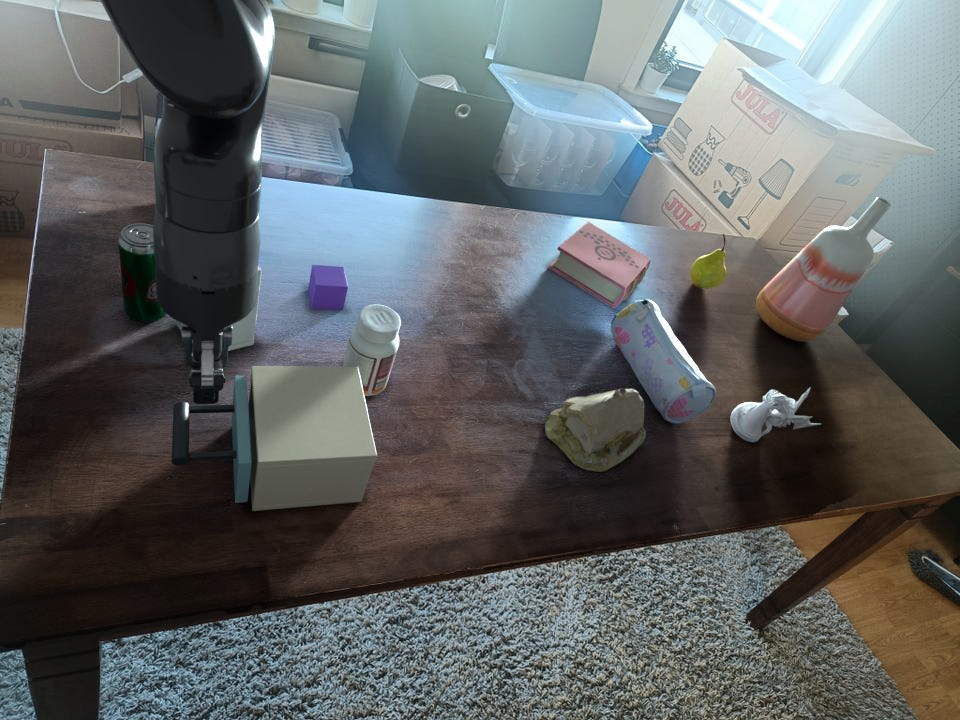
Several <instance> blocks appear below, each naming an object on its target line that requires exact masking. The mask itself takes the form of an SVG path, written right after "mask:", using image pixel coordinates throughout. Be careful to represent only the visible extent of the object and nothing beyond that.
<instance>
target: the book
mask: <svg viewBox="0 0 960 720" xmlns="http://www.w3.org/2000/svg"><path fill="white" fill-rule="evenodd" d="M556 250H557V251H559V254H558V257H557V258H556V259H555V260H554V261H552V262H551V263H550V264H549V265H548V267H547V268H548V269H549V270H551V271H552V272H554V273H555V274H557V275H559V276H560V277H562V278H563V279H565V280H567V281H569V282H570V283H571V284H573V285H574V286H576V287H578V288H580V289H581V290H583V291H585V292H586V293H588V294H590V295H591V296H592V297H594V298H596V299H597V300H599V301H600V302H602V303H603V304H605V305H607V306H608V307H610V308H612V309H613V310H614V309H616V308H617V307H618V306H619V304H621V303H622V302H624V301H625V300H626V299H628V298H629V297H630V296H631V294H632V292H633V291H634V289H635V288H636V287H637V286H638V285H640V283H641V282H642V281H643V279H644V277H645V276H646V273H647V271H648V269H649V267H650V264H651V260H652V259H651V258H650V257H648V256H646V255H645V254H643V253H642V252H641V251H639V250H636V249H635V248H633V247H631V246H630V245H628V244H626V243H625V242H623V241H622V240H620V239H618V238H617V237H615V236H613V235H611V234H610V233H608V232H606V231H605V230H603V229H602V228H600V227H598V226H597V225H595V224H593V223H592V222H590V221H587V222H586V223H584V225H582V226H581V227H579V229H577V230H576V231H575V232H573V234H571V235H570V236H569V237H568V238H567V239H565V240H564V241H563V242H562V243H560V244H559V245H558V247H557V248H556Z"/></svg>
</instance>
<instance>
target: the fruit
mask: <svg viewBox="0 0 960 720" xmlns="http://www.w3.org/2000/svg"><path fill="white" fill-rule="evenodd" d="M722 236H723V247H722V248H717V249H715V250H714V251H712V252H711V253H709V254H704V255H701V256H699V257H698V258H696V259H695V261H693V263H692V266H691V268H690V271H689V277H690V281H691V282H692V284H693V285H694V286H695V287H696V288H698V289H702V290H708V289H713V288H718V287H720V286H721V285H722V283H723V282H724V281H725V278H726V276H727V268H726V266H725V260H726V251H725V248H726V247H725V246H726V235H725V234H724V233H722Z"/></svg>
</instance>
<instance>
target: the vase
mask: <svg viewBox="0 0 960 720" xmlns="http://www.w3.org/2000/svg"><path fill="white" fill-rule="evenodd" d="M891 206H892V204H891V203H890V201H888V200H887V199H885V198H883V197H881V196H878V197H876V198H875V200H873V202H872V203H871V204H870V205H869V206H868V208H866V210H865V211H864V212H863V214H861V216H860V217H859V218H858V219H857V220H856V222H855V223H854V224H853V225H852V226H849V227H847V226H841V225H830V226H828V227H826V228H824V229H822V230H821V231H820V232H819V233H818V234H817V235H816V236H815V237H814V238H813V239H811V240H810V242H809V243H807V244H806V245H805V246H804V247H803V249H801V251H799V252H798V254H796V256H794V257H793V258H792V259H791V260H790V261H789V262H788V263H787V264H786V265H785V266H784V267H783V268H782V269H781V270H780V271H779V272H777V274H776V275H775V276H774V277H773V278H772V279H771V280H769V282H768V283H767V284H765V286H764V287H763V288H762V289H761V290H760V291H759V293H758V294H757V297H756V299H755V309H756V311H757V314H758V316H759V318H760V319H761V320H762V322H764V323H765V324H766V326H768V327H769V328H770V329H771V330H772V331H774V332H775V333H776V334H778V335H780V336H781V337H784V338H786V339H788V340H791V341H795V342H802V343H806V342H807V343H808V342H813V341H815V340H817V339H819V338H820V337H822V335H823V334H824V333H825V332H826V331H827V330H828V328H829V327H830V326H831V324H832V323H833V321H834V320H835V318H836V317H837V315H838V314H839V312H840V311H841V309H842V308H843V306H844V305H845V303H846V301H847V300H848V298H849V297H850V295H851V294H852V293H853V291H854V289H855V288H856V287H857V285H858V284H859V281H860V280H861V279H862V278H863V275H865V272H866V271H867V270H868V268H869V266H870V265H871V264H872V262H873V259H874V256H875V251H874V248H873V246H872V244H871V243H870V241H869V240H868V239H867V237H868V235H869V233H870V232H871V231H872V230H873V228H875V226H876V225H877V223H878V222H879V221H880V220H881V218H882V217H883V216H884V215H885V214H886V212H887V211H888V210H889V209H890V207H891Z"/></svg>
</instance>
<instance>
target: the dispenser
mask: <svg viewBox="0 0 960 720" xmlns="http://www.w3.org/2000/svg"><path fill="white" fill-rule="evenodd" d="M248 389H249V390H248V391H249V392H248V410H249V427H250V443H251V459H252V465H251V473H250V497H251V510H252V512H256V511H257V512H258V511H259V512H260V511H269V510H279V509H281V510H282V509H291V508H293V509H294V508H303V507H316V506H328V505H339V504H351V503H352V504H353V503H361V502H362V501H363V499H364V496H365V493H366V490H367V487H368V484H369V481H370V478H371V475H372V471H373V470H374V469H373V468H374V466H375V463H376V459H377V457H378V453H377V449H376V444H375V440H374V434H373V431H372V430H373V429H372V425H371V420H370V416H369V411H368V406H367V402H366V396H364V393H363V388H362V383H361V379H360V374H359V369H358V367H343V366H336V365H335V366H332V365H331V366H329V365H327V366H326V365H325V366H321V365H320V366H319V365H317V366H315V365H314V366H313V365H312V366H309V365H307V366H305V365H304V366H302V365H297V366H295V365H294V366H293V365H291V366H290V365H287V366H286V365H285V366H284V365H251V369H250V379H249V388H248Z"/></svg>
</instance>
